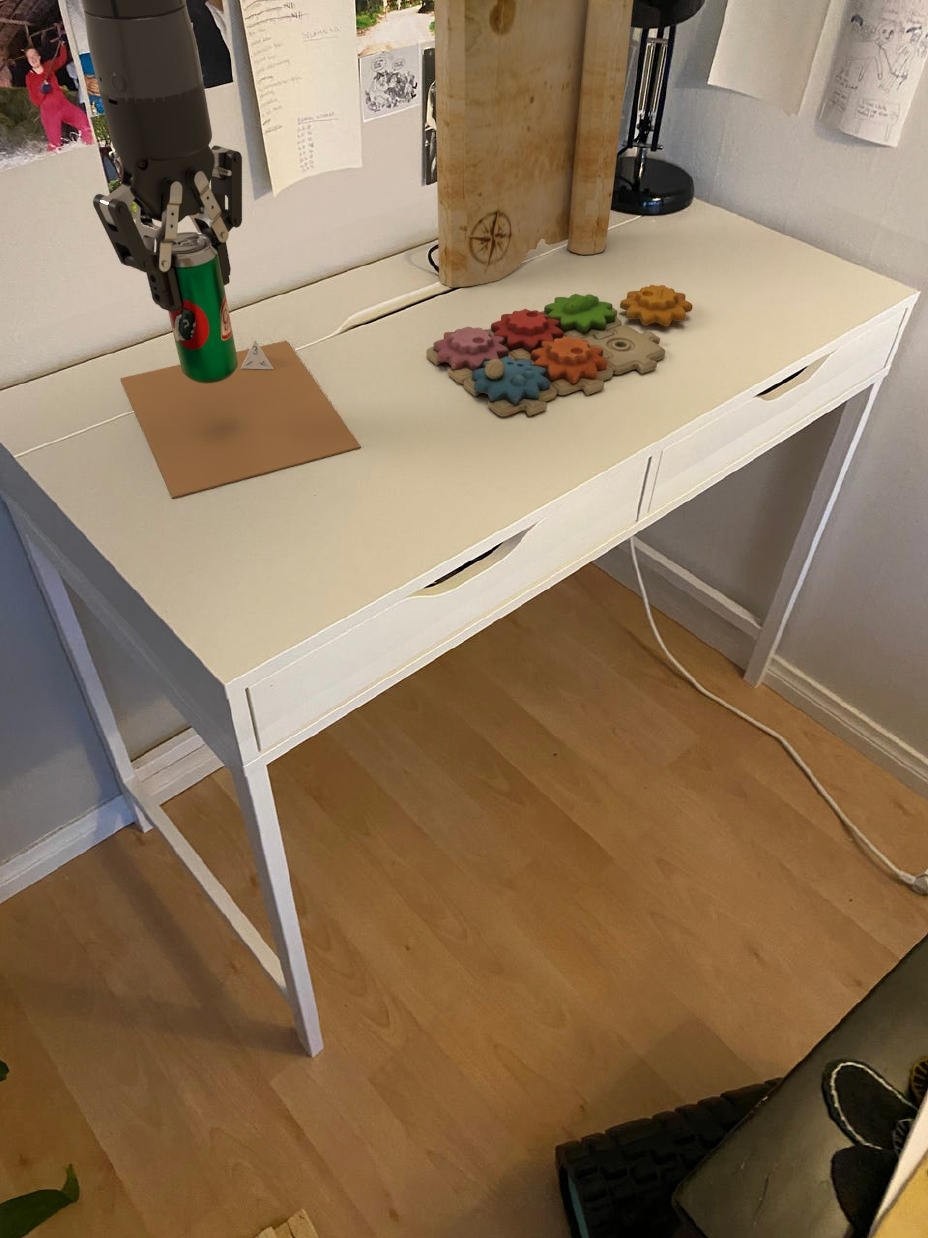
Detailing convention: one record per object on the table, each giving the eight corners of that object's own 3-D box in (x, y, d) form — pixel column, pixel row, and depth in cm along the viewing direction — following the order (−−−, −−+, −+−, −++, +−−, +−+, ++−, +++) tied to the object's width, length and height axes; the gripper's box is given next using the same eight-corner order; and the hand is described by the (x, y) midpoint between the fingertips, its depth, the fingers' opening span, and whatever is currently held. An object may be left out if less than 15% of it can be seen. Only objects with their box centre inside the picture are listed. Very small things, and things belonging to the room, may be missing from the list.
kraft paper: (172, 498, 85) (171, 497, 85) (120, 379, 99) (120, 377, 99) (360, 447, 90) (360, 446, 90) (286, 341, 104) (286, 340, 104)
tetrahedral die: (261, 383, 100) (264, 362, 97) (240, 368, 100) (243, 346, 98) (282, 368, 102) (286, 347, 99) (262, 354, 102) (265, 332, 100)
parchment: (449, 292, 113) (447, -5, 91) (427, 270, 117) (420, -19, 95) (616, 253, 120) (650, -30, 99) (590, 234, 124) (617, -42, 103)
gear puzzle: (641, 283, 114) (645, 250, 112) (737, 340, 105) (745, 305, 102) (419, 356, 102) (418, 320, 99) (505, 427, 93) (506, 391, 90)
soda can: (244, 379, 86) (221, 249, 78) (188, 390, 85) (158, 259, 76) (232, 353, 90) (209, 225, 81) (178, 363, 88) (148, 234, 80)
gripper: (185, 45, 76) (222, 254, 88) (36, 93, 67) (100, 317, 79) (255, 62, 73) (283, 276, 85) (108, 113, 64) (163, 343, 76)
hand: (194, 294), depth 82 cm, fingers closed on soda can, 5 cm apart
